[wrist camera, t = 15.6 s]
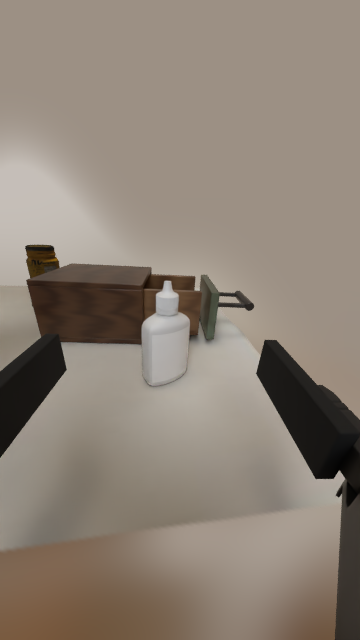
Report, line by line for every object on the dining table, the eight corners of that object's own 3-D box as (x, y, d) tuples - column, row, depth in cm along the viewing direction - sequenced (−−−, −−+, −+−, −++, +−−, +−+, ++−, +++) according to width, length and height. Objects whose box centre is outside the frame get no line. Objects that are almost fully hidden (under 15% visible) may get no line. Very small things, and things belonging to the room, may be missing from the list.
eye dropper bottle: (189, 385, 24) (198, 287, 19) (142, 388, 24) (138, 286, 19) (184, 363, 28) (191, 277, 23) (143, 364, 28) (141, 276, 23)
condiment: (65, 292, 53) (56, 244, 48) (70, 302, 47) (60, 247, 42) (31, 296, 49) (17, 244, 44) (32, 308, 43) (16, 248, 38)
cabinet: (151, 311, 45) (151, 267, 41) (143, 344, 32) (142, 284, 28) (78, 309, 44) (71, 263, 40) (42, 341, 32) (25, 279, 28)
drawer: (233, 311, 45) (239, 276, 41) (254, 340, 33) (264, 294, 30) (135, 308, 44) (134, 271, 40) (122, 336, 32) (119, 288, 29)
